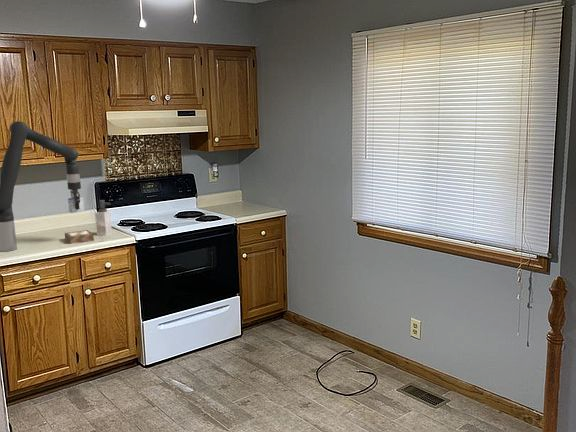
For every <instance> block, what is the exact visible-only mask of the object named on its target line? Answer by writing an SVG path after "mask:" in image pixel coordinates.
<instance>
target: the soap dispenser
mask: <svg viewBox="0 0 576 432" xmlns="http://www.w3.org/2000/svg"><path fill="white" fill-rule="evenodd" d="M105 201H106V200H105V199H99V200H98V203H99V209H98V211H97V212H95V222H96V223H95V226H96V235H97V236H108V235H111V234H113V230H112V218H111V211H110V210H107V208H106V206H110V205H111V204H112V203H111V202H105Z"/></svg>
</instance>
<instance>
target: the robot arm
mask: <svg viewBox="0 0 576 432" xmlns="http://www.w3.org/2000/svg"><path fill="white" fill-rule="evenodd" d="M8 130H9V133H10V139H9V144H8V147H7V149H6V151H5V154H4V157H3V159H2V163H1V168H0V252H12V251H15V250H17V249H18V245H17V235H16V227H15V219H14V213H13V206H12V205H13V202H14V201H13V197H14V192H15V191H14V190H15V187H16V183H17V179H18V175H19V172H20V169H21V168H20V167H21V163H22V160H23V159H22V158H23V150H24V145H25V142H26V141H30V142H32V143H34V144H35V145H36V144H37V145H38V146H40V147H42V148H44V149H46V150H48V151H50V152H52V153H54V154H57V155H60V156H62V157H63V158H64V163H65V167H66V168H65V169H66V182H67V190H70V198H73V199H74V200H75V208H76V210H78V209H80V207H79V203H80V197H81V195H80V192H79V190H80V189H82V184H81V183H82V182H81V176H80V169H79V168H80V167H79V164H78V161H77V159H78V158H79V151H77V150H76V149H75V148H73V147H71V146H68V145H65V144H64V143H62V142H61V141H58V140H56V139H54V138H52V137H49V136H47V135H44V134H43V133H39V132H38V131H35V130H33V129H32V128H30V127H29V126H28V125H27V124H26V123H25V122H23V121H21V120H20V121H19V120H16V121H13V122H11V124H10V125H9V129H8ZM77 200H78V201H77Z"/></svg>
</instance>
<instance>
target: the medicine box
mask: <svg viewBox="0 0 576 432" xmlns="http://www.w3.org/2000/svg"><path fill="white" fill-rule="evenodd" d="M77 201H78V200H77ZM67 202H68V203H67V204H68V211H69V213H70V214H74V213H79V212H84V211H85V203H84V197H83V196H80V203H79V207H80V209H78V210H76V208H75V200H74V199H73V198H71V197H70V198H67Z"/></svg>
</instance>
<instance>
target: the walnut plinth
mask: <svg viewBox="0 0 576 432" xmlns="http://www.w3.org/2000/svg"><path fill="white" fill-rule="evenodd" d="M64 239H65V241H66V240H67V241H66V242H68V244H70V245H71V244H72V245H73V244H79V243H87V242H92V241H93V242H94V241H95V237H94V233H93V232H91V231H89V230H88V229H85V230H79V231H72V232H69V231H68V232H64Z"/></svg>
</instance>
